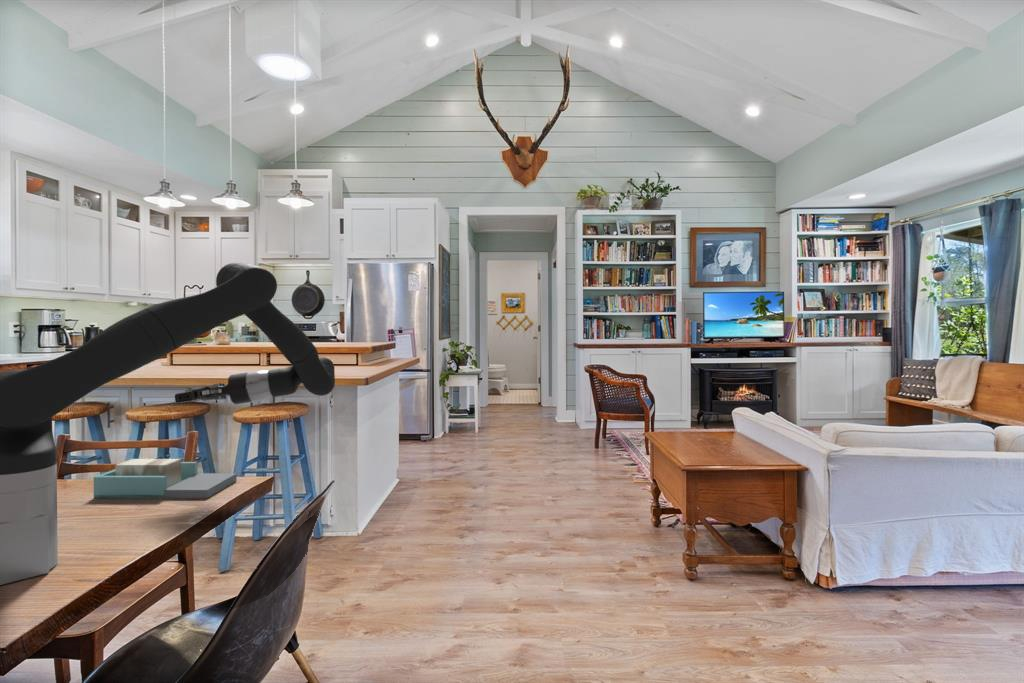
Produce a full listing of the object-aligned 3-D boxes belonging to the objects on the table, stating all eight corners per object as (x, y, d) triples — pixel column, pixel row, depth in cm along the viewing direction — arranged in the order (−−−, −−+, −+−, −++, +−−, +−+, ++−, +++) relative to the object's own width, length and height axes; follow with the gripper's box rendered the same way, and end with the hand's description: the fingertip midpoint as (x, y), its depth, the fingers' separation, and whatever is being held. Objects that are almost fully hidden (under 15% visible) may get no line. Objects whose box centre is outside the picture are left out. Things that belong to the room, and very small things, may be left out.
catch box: (197, 480, 136) (197, 462, 135) (163, 498, 122) (163, 477, 122) (134, 480, 135) (134, 461, 135) (93, 498, 121) (93, 477, 121)
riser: (236, 480, 136) (236, 473, 136) (207, 498, 122) (207, 489, 122) (197, 480, 136) (197, 473, 136) (163, 498, 122) (163, 489, 122)
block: (181, 458, 131) (132, 458, 131) (166, 465, 125) (115, 465, 125) (181, 482, 132) (132, 482, 131) (166, 489, 126) (115, 489, 125)
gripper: (257, 373, 137) (184, 384, 133) (242, 370, 124) (162, 382, 120) (261, 401, 137) (188, 412, 133) (247, 401, 124) (166, 414, 120)
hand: (176, 398), depth 127 cm, fingers closed
